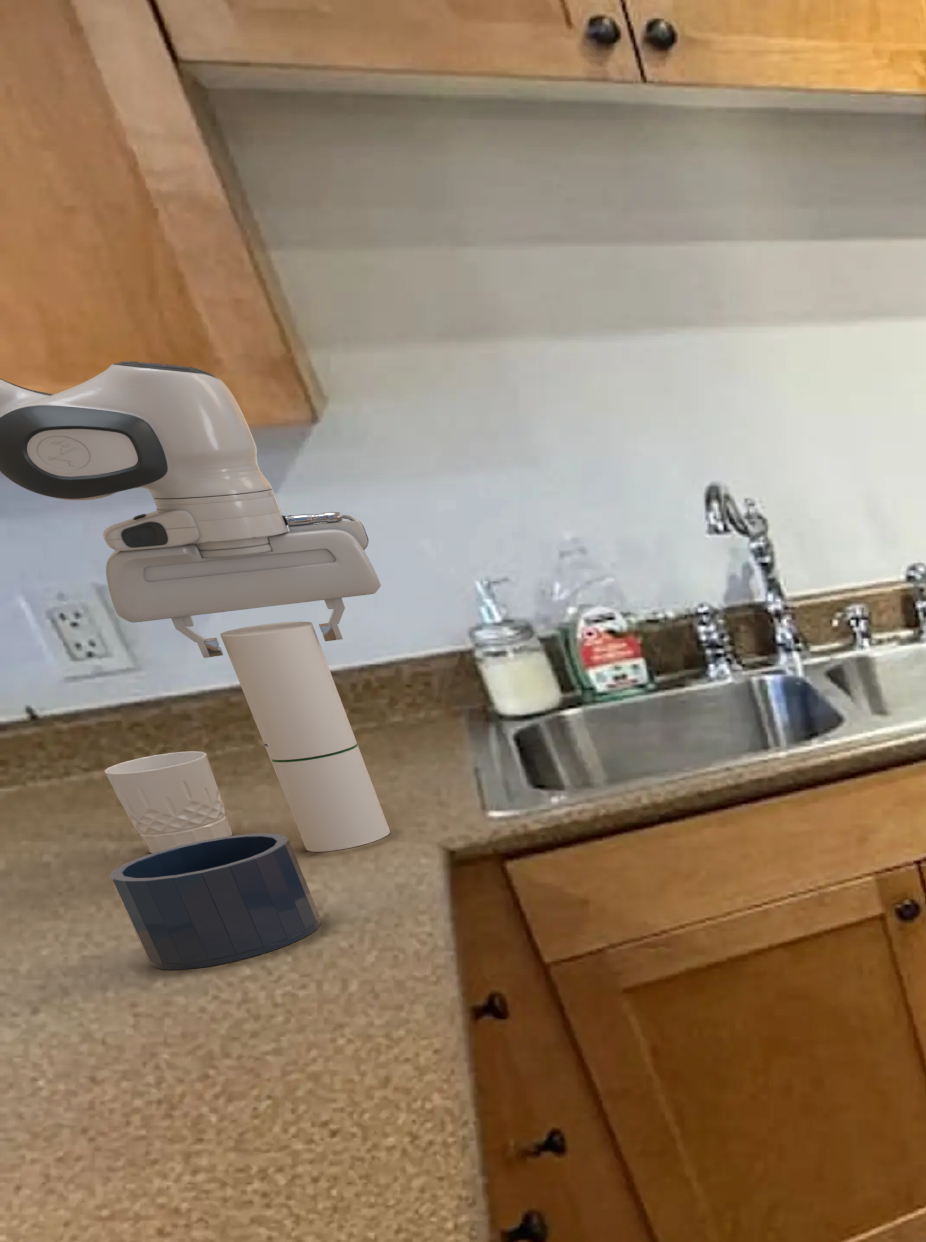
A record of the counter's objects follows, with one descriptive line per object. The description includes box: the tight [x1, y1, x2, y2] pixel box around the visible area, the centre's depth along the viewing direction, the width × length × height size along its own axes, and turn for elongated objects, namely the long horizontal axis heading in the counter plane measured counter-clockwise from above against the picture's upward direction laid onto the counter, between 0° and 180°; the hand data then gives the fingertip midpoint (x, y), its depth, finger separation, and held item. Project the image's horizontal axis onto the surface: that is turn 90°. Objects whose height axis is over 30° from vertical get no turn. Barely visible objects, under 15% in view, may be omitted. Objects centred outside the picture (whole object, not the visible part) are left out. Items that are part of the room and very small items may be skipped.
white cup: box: [103, 750, 233, 854], centre depth 150 cm, size 8×8×10 cm
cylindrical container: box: [219, 621, 391, 853], centre depth 147 cm, size 7×7×25 cm
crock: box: [109, 833, 322, 971], centre depth 125 cm, size 12×12×9 cm
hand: (275, 647), depth 144 cm, fingers open, 8 cm apart
